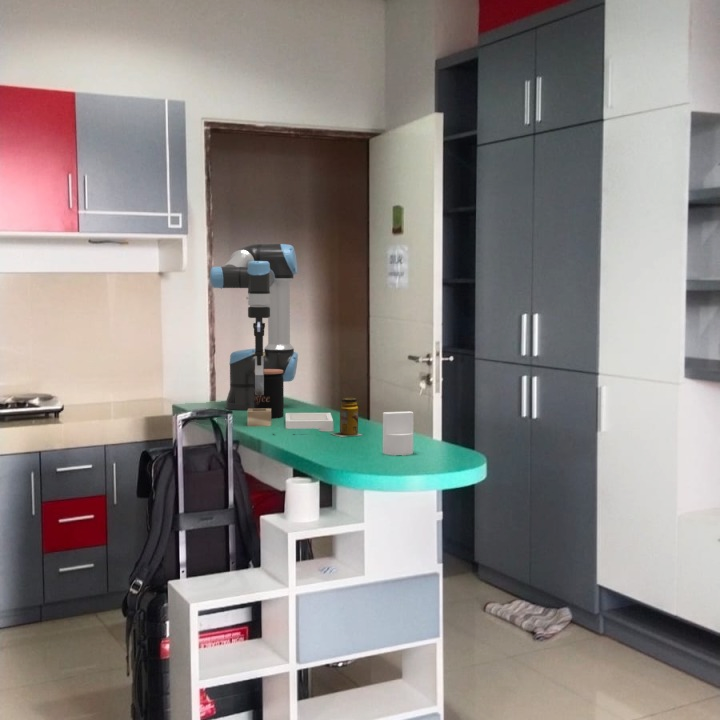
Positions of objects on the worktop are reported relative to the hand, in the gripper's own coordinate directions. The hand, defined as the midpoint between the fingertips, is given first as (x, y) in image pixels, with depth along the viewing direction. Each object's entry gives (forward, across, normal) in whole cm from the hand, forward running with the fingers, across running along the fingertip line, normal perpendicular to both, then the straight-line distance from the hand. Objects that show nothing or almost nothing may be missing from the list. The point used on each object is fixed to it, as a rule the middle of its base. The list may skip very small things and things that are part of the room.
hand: (259, 374), depth 327 cm
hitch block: (+18, 0, 0) cm, 18 cm away
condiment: (+19, +17, +29) cm, 39 cm away
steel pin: (+7, 0, 0) cm, 7 cm away
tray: (+18, 0, +17) cm, 25 cm away
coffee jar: (+19, -19, +3) cm, 27 cm away
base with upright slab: (+18, +51, +42) cm, 69 cm away
